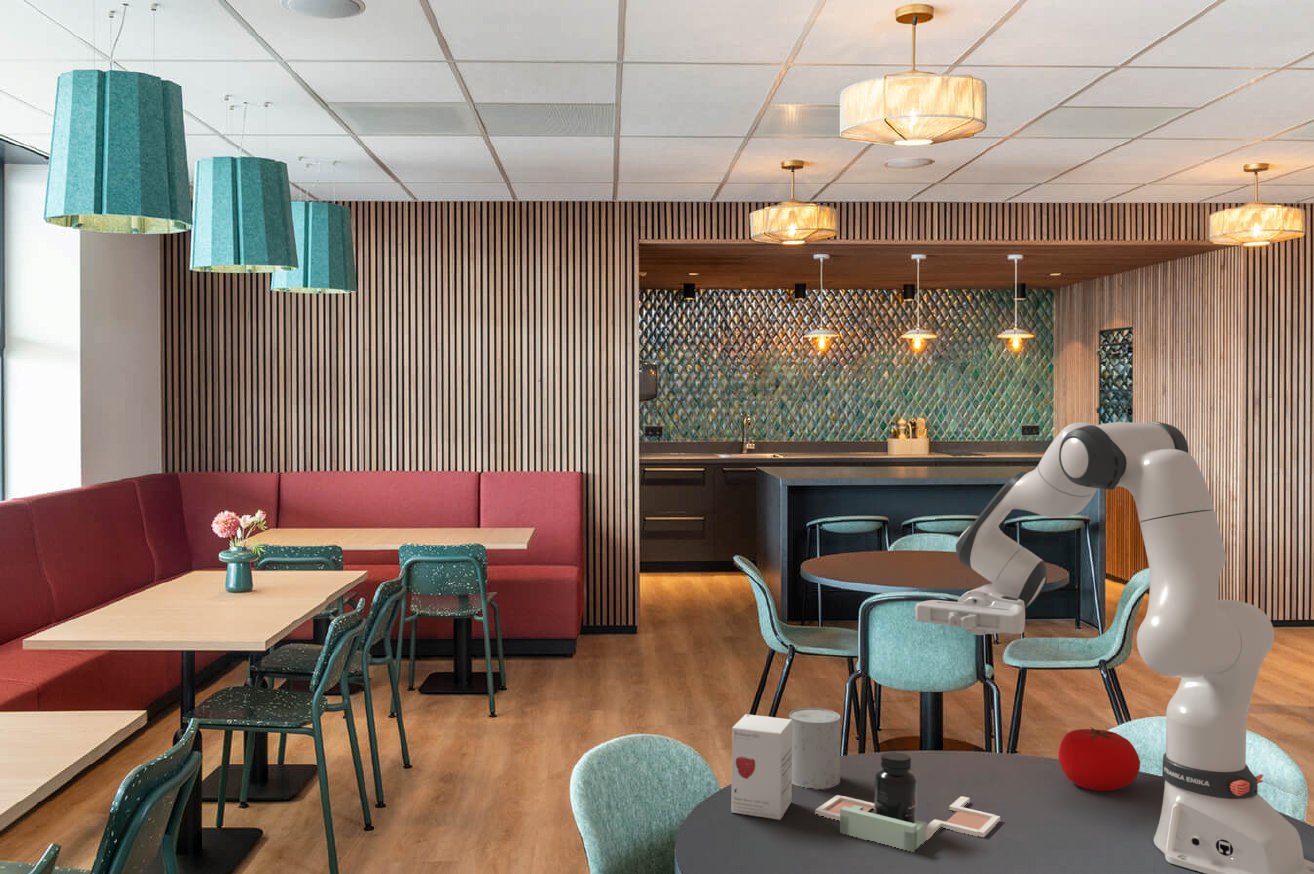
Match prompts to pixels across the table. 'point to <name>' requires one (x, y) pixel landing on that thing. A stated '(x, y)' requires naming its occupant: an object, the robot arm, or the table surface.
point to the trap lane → (902, 822)
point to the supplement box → (761, 766)
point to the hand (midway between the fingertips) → (955, 622)
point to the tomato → (1098, 759)
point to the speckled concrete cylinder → (815, 748)
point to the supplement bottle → (896, 788)
